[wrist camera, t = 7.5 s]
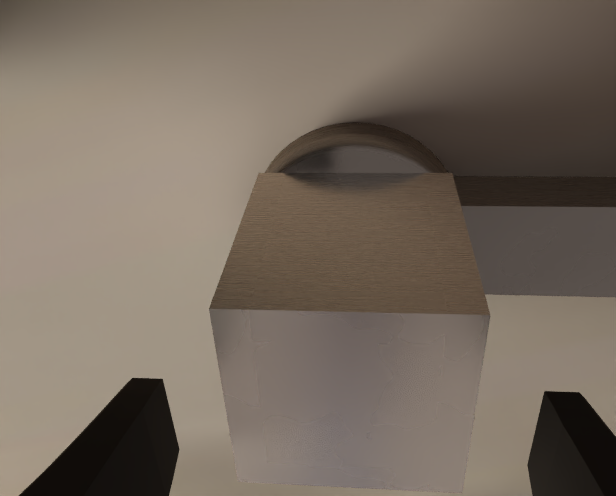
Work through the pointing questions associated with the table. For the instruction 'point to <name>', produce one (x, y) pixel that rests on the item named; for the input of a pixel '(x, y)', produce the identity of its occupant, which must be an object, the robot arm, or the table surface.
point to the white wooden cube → (351, 332)
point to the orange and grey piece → (491, 211)
